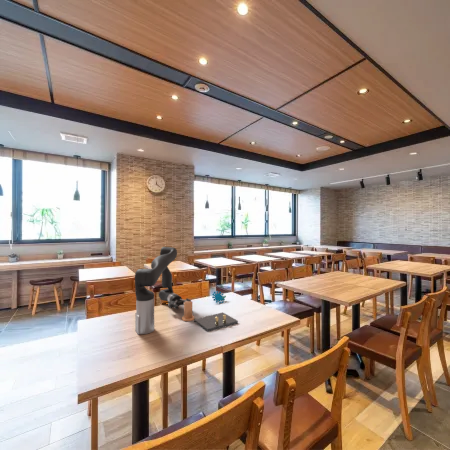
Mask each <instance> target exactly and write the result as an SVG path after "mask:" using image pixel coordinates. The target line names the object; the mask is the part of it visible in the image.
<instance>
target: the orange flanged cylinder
mask: <svg viewBox="0 0 450 450" xmlns="http://www.w3.org/2000/svg"><path fill="white" fill-rule="evenodd" d="M194 319H196V318H195V316H194V315H193V301H192V300H191V301H186V302H184V305H183V316H181V320H182V322H192V321H194Z"/></svg>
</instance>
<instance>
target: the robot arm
mask: <svg viewBox="0 0 450 450" xmlns="http://www.w3.org/2000/svg"><path fill="white" fill-rule="evenodd" d="M177 255H178V250H177V249H176V248H175V247H173V246H172V247H171V246H162V247H161V249H160V251H159V255H157V256H156V257H155V258H154V259H152V261H151V263H150V268H139V269H137V270H136V271H135V273H134V291H135V297H136V298H135V300H136V303H135V306H136V307H135V311H136V312H135V314H134V315H135V318H134V319H135V321H134V322H135V329H134V331H135V332H136V334H137V335H148V334H150V333H152V332H154V331H155V293H154V291H152V290H149V289H148V288H147V287H153V286H154V285H156V283H157V282H158V280H159V278H160V276H161V287H162V288H163V289H161V290H160V291H158V298H159V299H160V300H161V301H164V302H167V304H168V307H169V308H170V309H176V310H179V307H181V306H184V302H186V301H191V302H192V300H191V299H190V298H186V299H183V297H182V296H180V295H179V294H177V293H175V292H174V289H173V285H172V283H173V281H172V279H173V276H172V272H171V270H170V268H169V267H168V266H169V265H170V264H172V262H174V261H175V260H176V258H177V257H178V256H177ZM164 288H165V289H164Z"/></svg>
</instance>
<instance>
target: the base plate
mask: <svg viewBox="0 0 450 450" xmlns="http://www.w3.org/2000/svg"><path fill="white" fill-rule="evenodd" d="M193 321H194V322H193V323H194V324H196V325H197V326H199V327H200V328H202V329H203V330H204V331H205V332H207V333H210V332H212V331H216V330H221V329H222V328H226V327H230V326H234V325H236V324H237V325H238V324H239V320H238V319H235V318H234V317H232V316H230V315H228V314H226V313H225V312H219V313H214V314H211V315H206V316H202V317H198V318H195V319H194V320H193Z"/></svg>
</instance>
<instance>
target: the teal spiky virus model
mask: <svg viewBox="0 0 450 450" xmlns="http://www.w3.org/2000/svg"><path fill="white" fill-rule="evenodd" d="M211 297H212V299H213V301H214V302H215V303H216V304H221V303H222V304H223V303H224V301H225V299H226V297H227V296H226V295H224V293H222V292H221V291H219V290H216V291H213V293H212V296H211Z"/></svg>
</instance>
